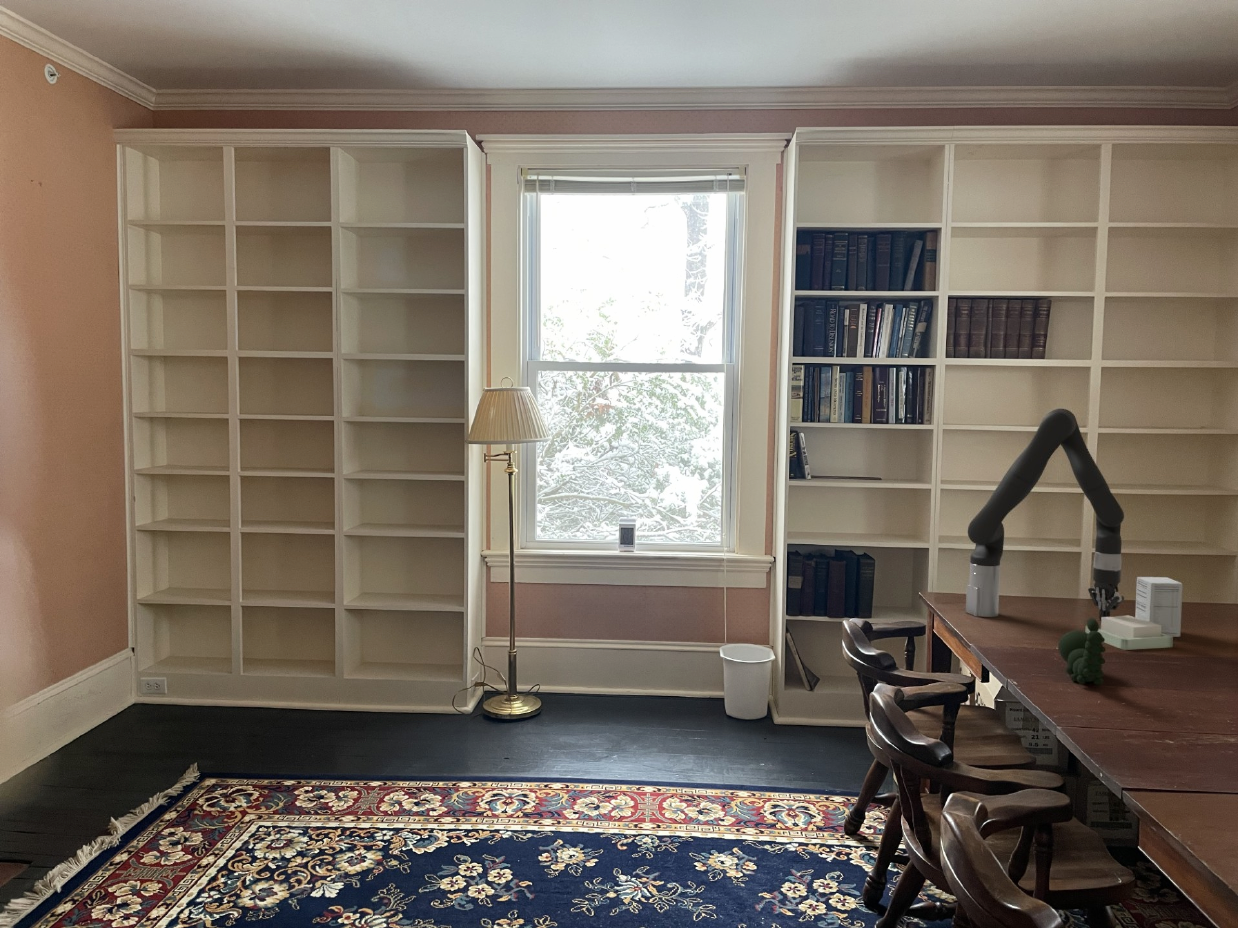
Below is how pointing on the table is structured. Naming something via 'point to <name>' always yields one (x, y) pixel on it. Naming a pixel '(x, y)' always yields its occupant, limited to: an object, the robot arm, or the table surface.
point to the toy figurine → (1084, 653)
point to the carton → (1130, 627)
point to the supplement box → (1160, 603)
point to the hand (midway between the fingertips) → (1104, 621)
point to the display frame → (1136, 641)
